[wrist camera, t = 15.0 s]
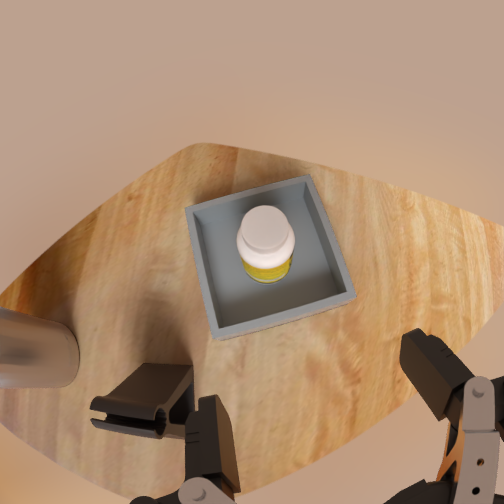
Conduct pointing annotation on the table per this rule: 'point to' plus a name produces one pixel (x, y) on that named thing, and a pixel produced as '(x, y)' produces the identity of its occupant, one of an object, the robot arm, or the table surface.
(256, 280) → the supplement bottle
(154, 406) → the phone stand
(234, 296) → the bin
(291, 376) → the table surface
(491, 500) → the robot arm
